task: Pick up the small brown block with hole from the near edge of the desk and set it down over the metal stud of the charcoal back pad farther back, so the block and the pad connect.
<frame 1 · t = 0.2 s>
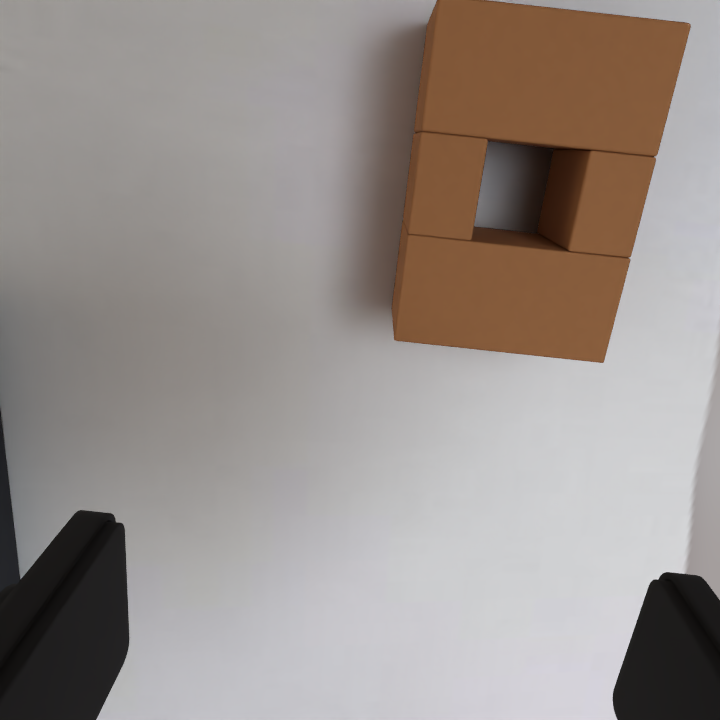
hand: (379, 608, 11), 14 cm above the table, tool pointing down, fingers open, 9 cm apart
brown block with hole: (503, 187, 22), on the table
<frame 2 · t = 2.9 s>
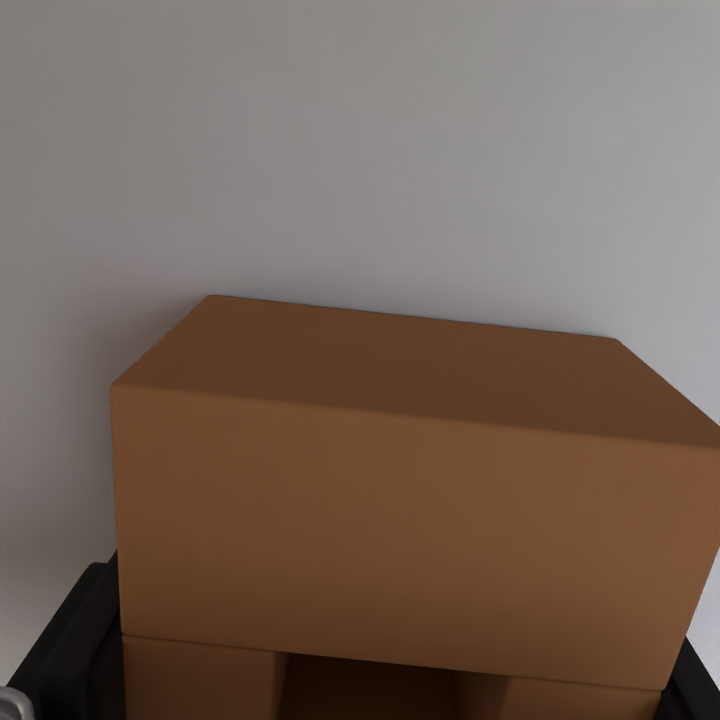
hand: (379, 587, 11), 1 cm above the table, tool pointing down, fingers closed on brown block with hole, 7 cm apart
brown block with hole: (379, 556, 12), on the table, touching gripper
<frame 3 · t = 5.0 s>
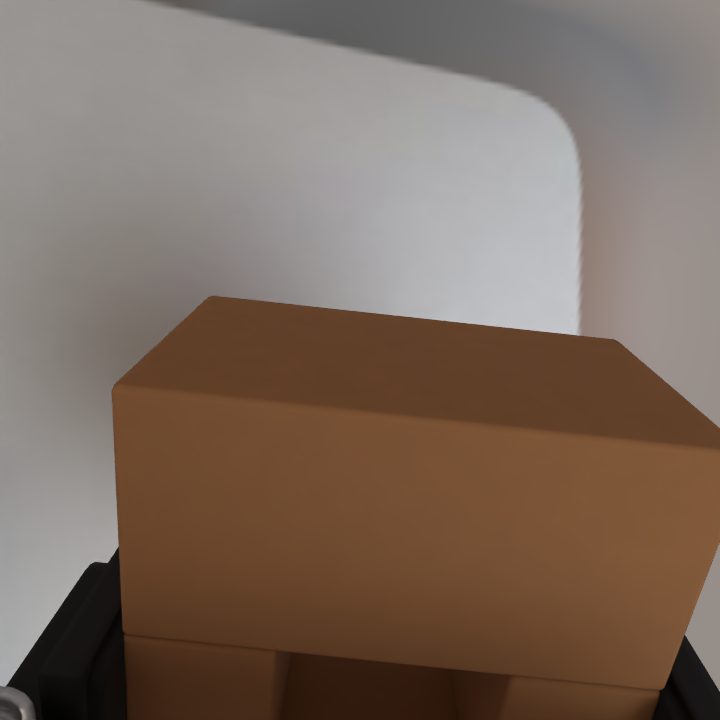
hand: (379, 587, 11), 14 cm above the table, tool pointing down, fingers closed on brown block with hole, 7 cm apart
brown block with hole: (380, 556, 12), point 13 cm above the table, touching gripper
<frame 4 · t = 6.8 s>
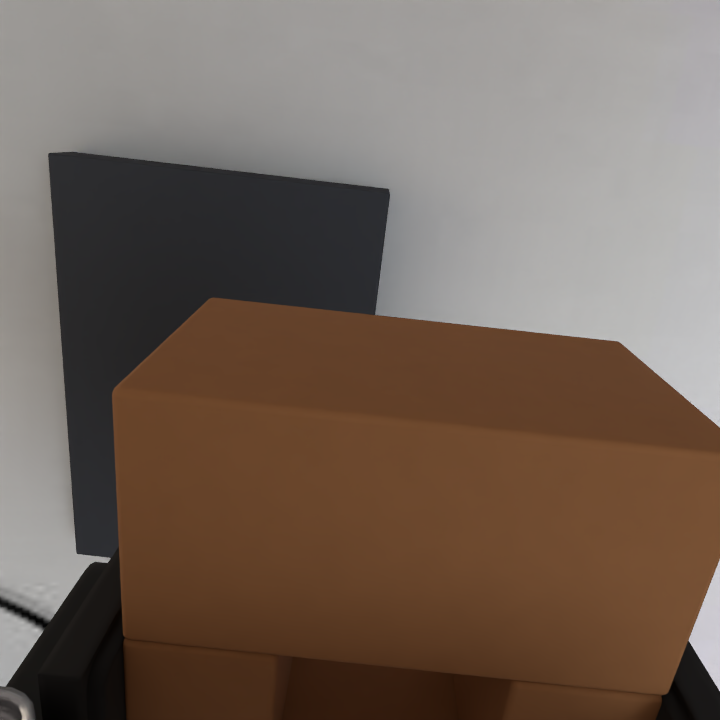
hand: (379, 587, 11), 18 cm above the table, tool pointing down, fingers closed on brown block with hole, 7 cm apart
brown block with hole: (381, 559, 12), point 17 cm above the table, touching gripper
charcoal back pad: (223, 380, 30), on the table
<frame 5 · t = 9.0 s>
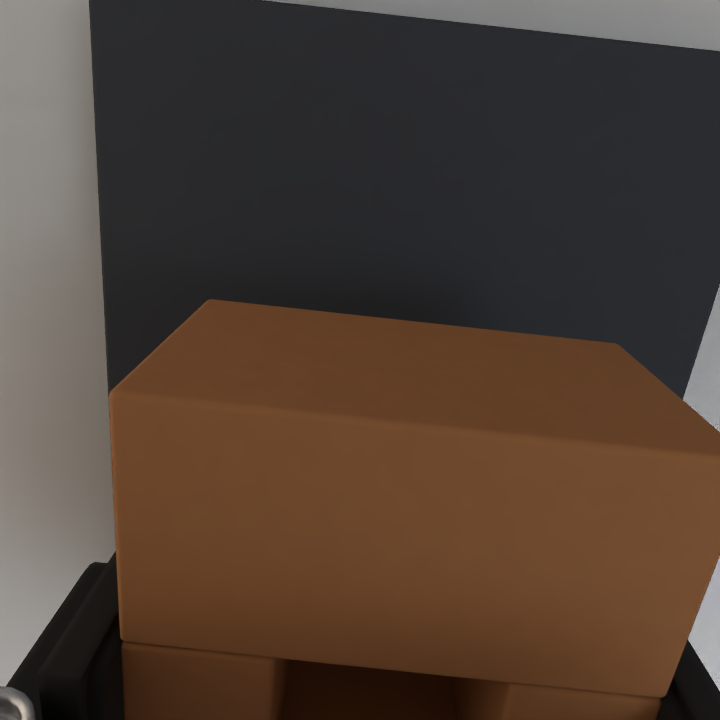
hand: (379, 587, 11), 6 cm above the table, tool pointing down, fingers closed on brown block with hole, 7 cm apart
brown block with hole: (379, 560, 12), point 6 cm above the table, touching gripper
charcoal back pad: (382, 427, 17), on the table
when the fingers open (3 cm above the table, at t = 10.7 s): brown block with hole stays where it is, resting on charcoal back pad.
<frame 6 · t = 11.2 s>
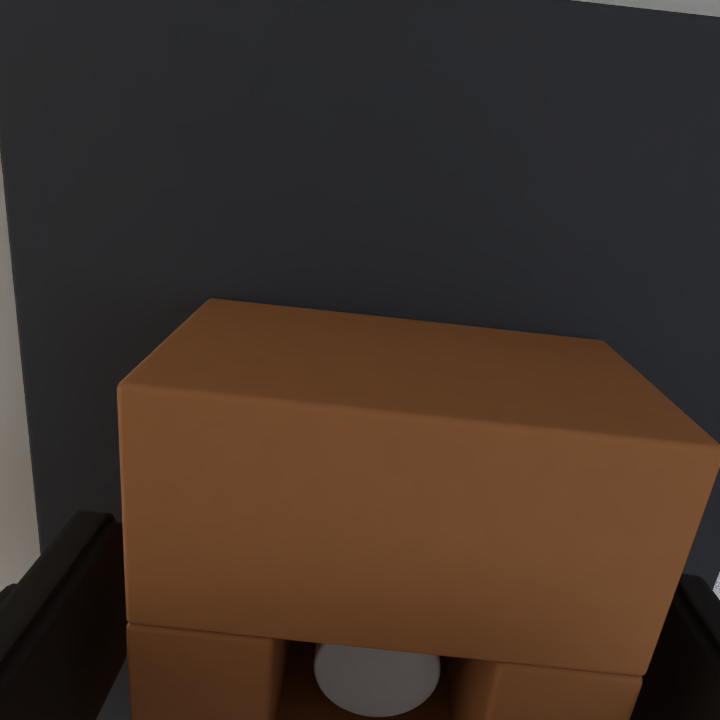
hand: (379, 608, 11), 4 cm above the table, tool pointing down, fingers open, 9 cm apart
brown block with hole: (375, 551, 12), point 2 cm above the table, touching charcoal back pad
charcoal back pad: (377, 494, 14), on the table
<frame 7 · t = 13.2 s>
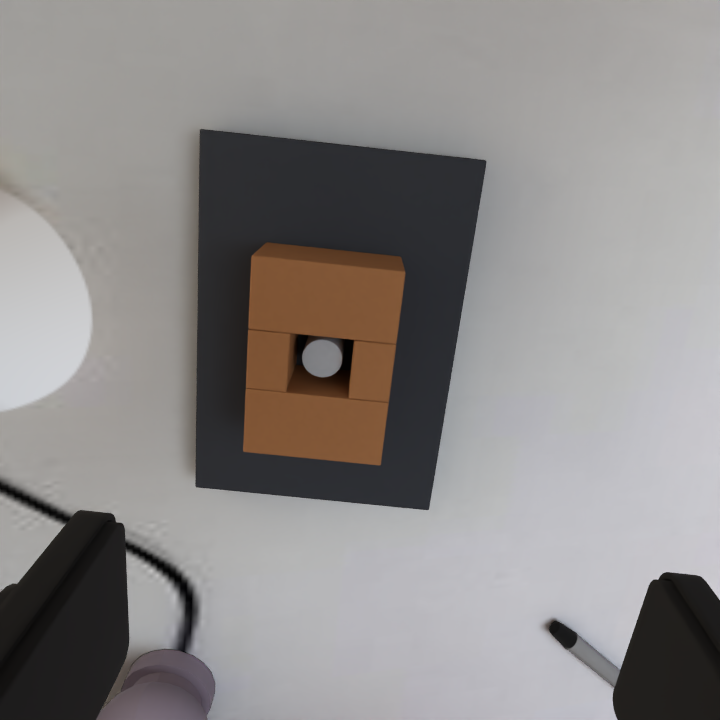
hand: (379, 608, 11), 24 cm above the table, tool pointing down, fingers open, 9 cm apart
brown block with hole: (325, 341, 32), point 2 cm above the table, touching charcoal back pad
charcoal back pad: (328, 329, 34), on the table
pen: (625, 680, 43), on the table
cat figurine: (173, 682, 44), on the table
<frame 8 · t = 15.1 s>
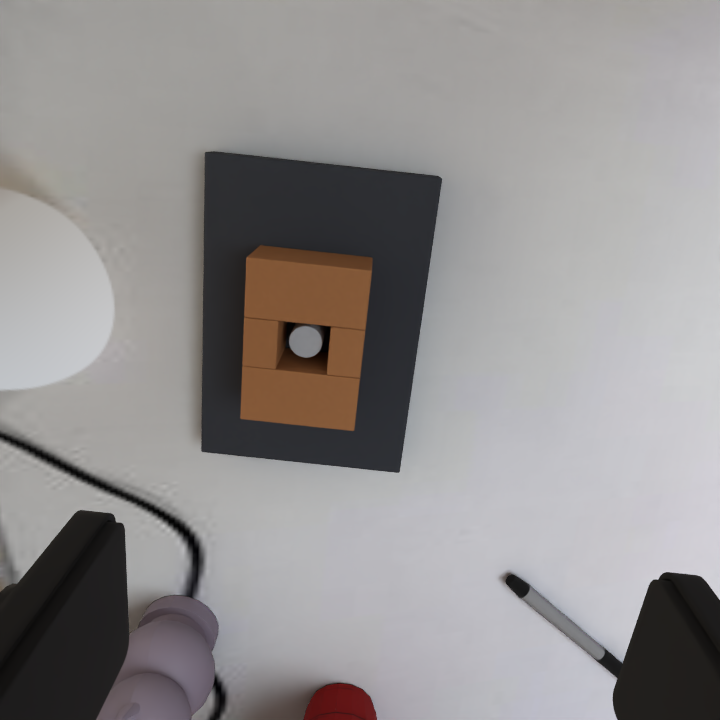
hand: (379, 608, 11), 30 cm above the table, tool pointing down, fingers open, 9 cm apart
brown block with hole: (310, 328, 38), point 2 cm above the table, touching charcoal back pad
charcoal back pad: (314, 318, 40), on the table
pen: (573, 627, 49), on the table
plastic cup: (340, 703, 53), on the table
cat figurine: (182, 624, 50), on the table
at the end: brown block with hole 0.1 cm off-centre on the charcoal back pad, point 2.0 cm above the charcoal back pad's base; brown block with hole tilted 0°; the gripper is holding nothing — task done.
